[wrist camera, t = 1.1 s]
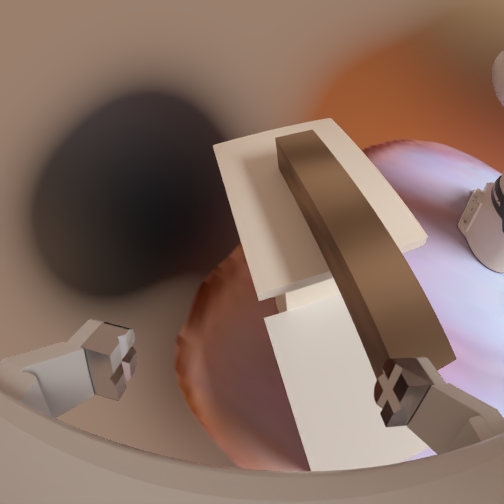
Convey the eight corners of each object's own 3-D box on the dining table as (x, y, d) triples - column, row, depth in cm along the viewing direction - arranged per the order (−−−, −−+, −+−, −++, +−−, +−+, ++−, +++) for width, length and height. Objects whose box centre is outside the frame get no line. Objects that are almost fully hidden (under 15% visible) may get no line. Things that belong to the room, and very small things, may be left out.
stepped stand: (254, 288, 49) (212, 145, 26) (322, 267, 49) (330, 117, 27) (311, 473, 31) (334, 542, 8) (392, 442, 31) (520, 434, 8)
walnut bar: (278, 168, 23) (275, 137, 20) (313, 160, 23) (312, 129, 21) (383, 398, 12) (402, 389, 10) (431, 373, 12) (456, 359, 10)
